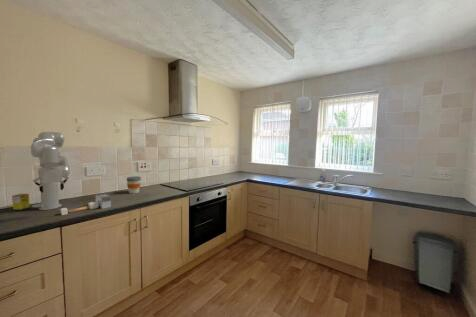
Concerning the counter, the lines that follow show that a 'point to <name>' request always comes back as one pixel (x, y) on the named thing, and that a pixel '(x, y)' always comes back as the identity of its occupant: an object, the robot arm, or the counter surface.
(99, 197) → the housing
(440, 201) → the counter surface
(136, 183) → the reusable coffee cup
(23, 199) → the supplement box
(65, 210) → the wooden dumbbell
